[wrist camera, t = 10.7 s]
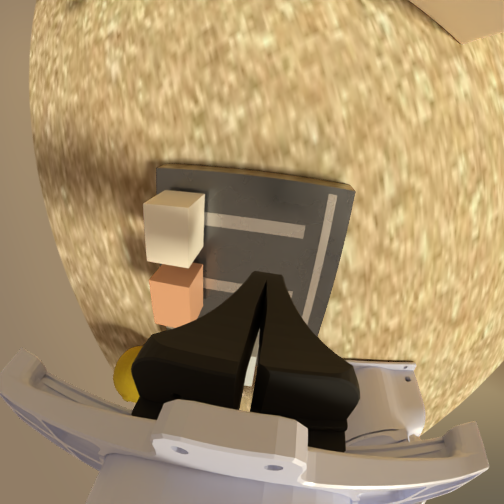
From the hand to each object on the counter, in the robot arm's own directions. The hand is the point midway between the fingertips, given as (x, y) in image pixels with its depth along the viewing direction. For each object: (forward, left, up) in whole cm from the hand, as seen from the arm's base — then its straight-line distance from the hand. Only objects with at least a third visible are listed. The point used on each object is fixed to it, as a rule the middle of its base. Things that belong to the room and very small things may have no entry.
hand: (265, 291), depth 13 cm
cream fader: (+7, 0, -7) cm, 10 cm away
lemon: (+12, +18, -10) cm, 24 cm away
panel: (+2, +6, -10) cm, 12 cm away
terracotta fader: (+7, +5, -7) cm, 11 cm away
